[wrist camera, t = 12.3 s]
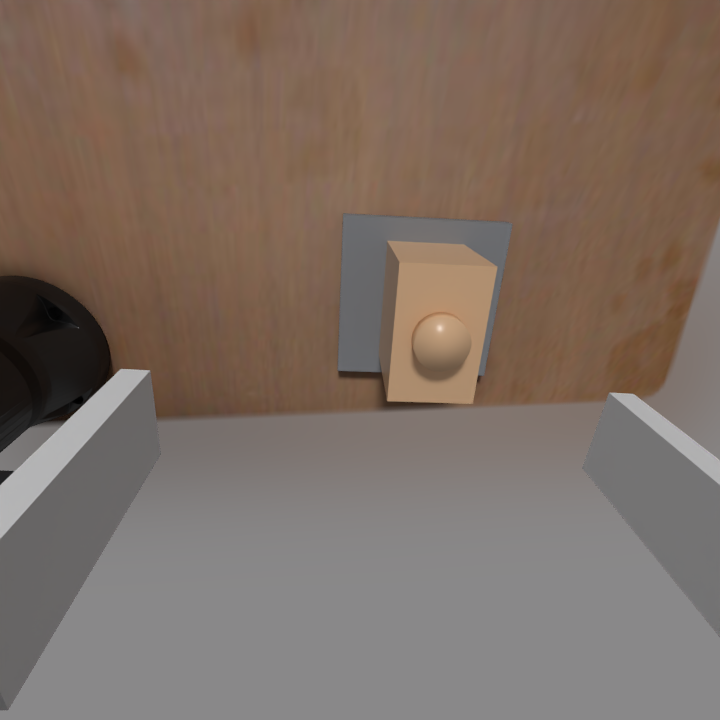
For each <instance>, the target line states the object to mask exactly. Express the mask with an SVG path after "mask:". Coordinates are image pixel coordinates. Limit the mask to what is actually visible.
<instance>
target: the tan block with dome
mask: <svg viewBox="0 0 720 720" xmlns="http://www.w3.org/2000/svg"><path fill="white" fill-rule="evenodd" d="M496 273H497V266H496V265H494V264H493V263H491V262H490V261H488V260H487V259H485V258H484V257H482V256H481V255H479V254H478V253H476V252H475V251H473V250H472V249H470V248H469V247H467V246H466V245H464V244H444V243H423V242H403V241H387V252H386V265H385V278H384V291H383V304H382V317H381V330H380V343H379V359H380V365H381V370H382V376H383V381H384V387H385V392H386V398H387V401H397V402H431V403H465V404H473V399H474V394H475V388H476V383H477V377H478V372H479V366H480V361H481V355H482V350H483V344H484V339H485V333H486V328H487V322H488V317H489V311H490V306H491V300H492V295H493V289H494V284H495V278H496Z"/></svg>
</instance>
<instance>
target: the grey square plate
mask: <svg viewBox="0 0 720 720" xmlns="http://www.w3.org/2000/svg"><path fill="white" fill-rule="evenodd" d="M511 229H512V224H511V223H509V222H498V221H479V220H460V219H441V218H422V217H403V216H384V215H365V214H346V213H343V235H342V264H341V292H340V320H339V348H338V371H360V372H382V370H381V365H380V359H379V343H380V330H381V317H382V304H383V291H384V278H385V265H386V252H387V241H403V242H423V243H444V244H464V245H466V246H467V247H469V248H470V249H472V250H473V251H475V252H476V253H478V254H479V255H481V256H482V257H484V258H485V259H487V260H488V261H490V262H491V263H493V264H494V265H496V266H497V273H496V278H495V284H494V289H493V295H492V300H491V306H490V311H489V317H488V322H487V328H486V333H485V339H484V344H483V350H482V355H481V361H480V366H479V372H478V375H480V376H484V372H485V367H486V362H487V356H488V351H489V346H490V340H491V335H492V330H493V324H494V319H495V314H496V309H497V303H498V298H499V293H500V287H501V282H502V277H503V272H504V266H505V261H506V256H507V250H508V245H509V240H510V234H511Z"/></svg>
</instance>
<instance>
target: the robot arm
mask: <svg viewBox="0 0 720 720" xmlns="http://www.w3.org/2000/svg"><path fill="white" fill-rule="evenodd" d="M108 371H109V350H108V346H107V342H106V339H105V337H104V334H103V332H102V330H101V328H100V327H99V325H98V323H97V322H96V320H95V319H94V318H93V316H92V315H91V314H90V313H89V312H88V310H87V309H86V308H85V307H84V306H83V305H81V304H80V303H79V302H78V301H77V300H76V299H74V298H73V297H72V296H70V295H69V294H67V293H66V292H64V291H63V290H61V289H59V288H57V287H55V286H53V285H51V284H48V283H46V282H43V281H40V280H37V279H33V278H29V277H22V276H2V277H0V452H1V451H3V449H5V448H6V447H7V446H8V445H10V444H11V443H12V442H13V441H14V440H15V439H16V438H18V437H19V436H20V435H21V434H22V433H23V432H24V431H25V430H27V429H28V428H29V427H31V426H34V425H37V424H40V423H43V422H46V421H49V420H52V419H55V418H57V417H60V416H63V415H66V414H69V413H71V412H73V411H75V410H76V409H78V408H80V407H81V406H82V407H81V408H80V409H79V410H78V411H77V412H76V413H75V414H74V415H73V416H71V417H70V418H69V419H68V420H67V421H66V422H65V423H64V424H63V425H62V426H61V427H60V428H59V429H58V430H57V431H56V432H55V433H54V434H53V435H52V436H51V437H50V438H49V439H48V440H47V441H46V442H44V443H43V444H42V445H41V446H40V448H38V449H37V450H36V451H35V452H34V453H33V454H32V455H31V456H30V457H29V458H28V459H27V460H26V461H25V462H24V463H23V464H22V465H21V466H20V467H19V468H17V469H16V470H15V471H0V710H8V709H9V707H10V706H11V704H12V703H13V701H14V699H15V698H16V696H17V694H18V693H19V691H20V689H21V688H22V686H23V684H24V683H25V681H26V679H27V678H28V676H29V674H30V673H31V671H32V669H33V668H34V666H35V664H36V663H37V661H38V659H39V658H40V656H41V654H42V652H43V651H44V649H45V647H46V646H47V644H48V642H49V641H50V639H51V637H52V636H53V634H54V632H55V631H56V629H57V627H58V626H59V624H60V622H61V621H62V619H63V617H64V616H65V614H66V612H67V611H68V609H69V607H70V605H71V604H72V602H73V600H74V599H75V597H76V595H77V594H78V592H79V590H80V589H81V587H82V585H83V584H84V582H85V580H86V579H87V577H88V575H89V573H90V572H91V570H92V569H93V567H94V565H95V564H96V562H97V560H98V558H99V557H100V555H101V554H102V552H103V550H104V548H105V547H106V545H107V544H108V542H109V540H110V538H111V537H112V535H113V533H114V532H115V530H116V528H117V527H118V525H119V523H120V522H121V520H122V518H123V516H124V515H125V513H126V512H127V510H128V508H129V507H130V505H131V503H132V502H133V500H134V498H135V497H136V495H137V493H138V491H139V490H140V488H141V486H142V485H143V483H144V481H145V480H146V478H147V476H148V475H149V473H150V471H151V470H152V468H153V466H154V465H155V463H156V461H157V460H158V458H159V456H160V455H161V451H160V444H159V436H158V428H157V420H156V412H155V404H154V396H153V388H152V381H151V373H150V370H130V369H120V370H119V371H118V372H117V373H116V374H115V375H114V376H113V377H112V378H111V379H110V380H109V381H108V382H107V383H106V384H105V385H104V386H103V384H104V382H105V380H106V378H107V375H108ZM102 386H103V387H102ZM101 387H102V388H101ZM100 388H101V389H100ZM582 468H583V470H584V471H585V472H586V473H587V475H588V476H589V477H590V478H591V479H592V481H593V482H594V483H595V484H596V486H597V487H598V488H599V489H600V491H601V492H602V493H603V494H604V496H605V497H606V498H607V499H608V500H609V502H610V503H611V504H612V505H613V507H614V508H615V509H616V510H617V511H618V513H619V514H620V515H621V516H622V518H623V519H624V520H625V521H626V523H627V524H628V525H629V526H630V527H631V529H632V530H633V531H634V532H635V533H636V535H637V536H638V537H639V538H640V540H641V541H642V542H643V543H644V545H645V546H646V547H647V548H648V549H649V550H650V552H651V553H652V554H653V555H654V557H655V558H656V559H657V560H658V562H659V563H660V564H661V565H662V567H663V568H664V569H665V570H666V572H667V573H668V574H669V575H670V576H671V578H672V579H673V580H674V581H675V583H676V584H677V585H678V586H679V587H680V589H681V590H682V591H683V592H684V594H685V595H686V596H687V597H688V599H689V600H690V601H691V602H692V603H693V605H694V606H695V607H696V608H697V609H698V611H699V612H700V613H701V614H702V616H703V617H704V618H705V619H706V621H707V622H708V623H709V624H710V625H711V627H712V628H713V629H714V630H715V632H716V633H717V634H718V635H719V636H720V460H719V459H717V458H716V457H715V456H714V455H712V454H711V453H710V452H708V451H707V450H706V449H704V448H703V447H702V446H701V445H699V444H698V443H697V442H695V441H694V440H693V439H691V438H690V437H689V436H688V435H686V434H685V433H684V432H682V431H681V430H680V429H678V428H677V427H676V426H675V425H673V424H672V423H671V422H669V421H668V420H667V419H665V418H664V417H663V416H661V415H660V414H659V413H658V412H656V411H655V410H654V409H652V408H651V407H650V406H648V405H647V404H646V403H645V402H643V401H642V400H641V399H639V398H638V397H637V396H635V395H634V394H623V393H609V395H608V397H607V400H606V403H605V406H604V409H603V411H602V414H601V417H600V420H599V423H598V425H597V428H596V431H595V434H594V437H593V440H592V442H591V445H590V448H589V451H588V453H587V456H586V459H585V462H584V464H583V467H582Z"/></svg>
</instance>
